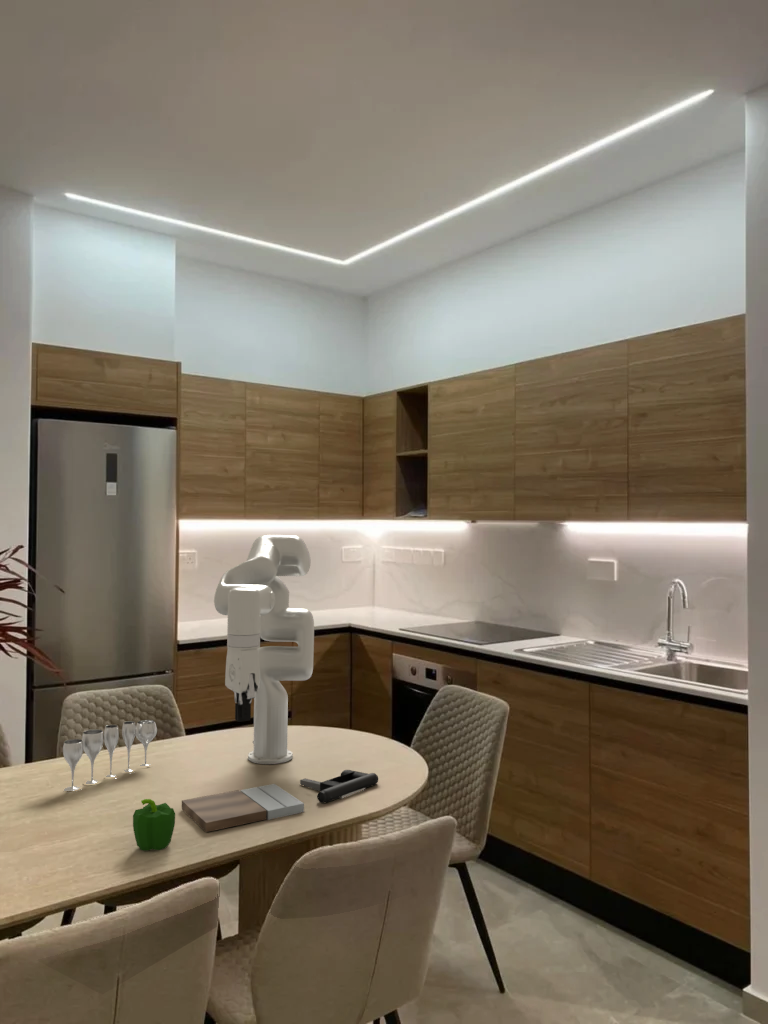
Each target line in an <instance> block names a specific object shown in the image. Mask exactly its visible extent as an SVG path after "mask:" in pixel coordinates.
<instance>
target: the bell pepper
mask: <svg viewBox="0 0 768 1024" xmlns="http://www.w3.org/2000/svg"><path fill="white" fill-rule="evenodd" d="M140 802H141V804H142V805H145V806H143V807H142V808H138V809H135V810H134V813H133V815H132V828H133V834H134V837H135V842H136V845H137V848H139V850H141V851H143V852H144V851H151V850H155V851H161V850H163V849H166V848H167V847H168V846H169V845H170V844H171V841H172V837H173V834H174V830H175V825H176V811H175V809H174V808H173V807H171V806H169V805H168V803H167V802H163V803H159V804H156V802H155V801H154V800H153V799H151V798H144V799H142V800H141V801H140Z"/></svg>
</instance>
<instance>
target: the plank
mask: <svg viewBox="0 0 768 1024" xmlns="http://www.w3.org/2000/svg"><path fill="white" fill-rule="evenodd" d="M181 810H182V811H183V812H184V813H185V814H186V815H187V816H188V817H189V818H190V819H191V820H192V821H194V822H195V823H196V825H198V826H199V827H200V828H201V829H202V830H203V831H204V832H205V833H207V832H208V833H209V832H213V831H218V830H223V829H228V828H233V827H237V826H242V825H245V824H251V823H254V822H255V823H256V822H260V821H265V820H267V819H266V810H265V809H264V808H262V807H261V806H260V805H258V804H257V803H256V802H254V801H253V800H252V799H250V798H249V797H247V796H246V795H245V794H243V793H242V792H241V791H240V790H239V789H235V790H230V791H225V792H219V793H213V794H209V795H204V796H199V797H194V798H188V799H183V800H182V799H181Z"/></svg>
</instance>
